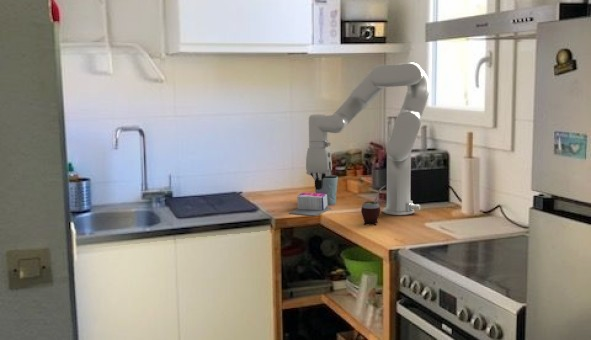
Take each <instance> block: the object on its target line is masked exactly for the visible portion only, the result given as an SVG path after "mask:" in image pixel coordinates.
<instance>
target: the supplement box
mask: <svg viewBox="0 0 591 340" xmlns="http://www.w3.org/2000/svg"><path fill="white" fill-rule="evenodd" d="M296 199H297V201H296V202H297V209H309V210H325V209H326V208H327V207H328V208H329V206H328V203H327V194H320V193H316V192H315V193H314V192H301V193H300V194H298V195H297V197H296Z"/></svg>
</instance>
